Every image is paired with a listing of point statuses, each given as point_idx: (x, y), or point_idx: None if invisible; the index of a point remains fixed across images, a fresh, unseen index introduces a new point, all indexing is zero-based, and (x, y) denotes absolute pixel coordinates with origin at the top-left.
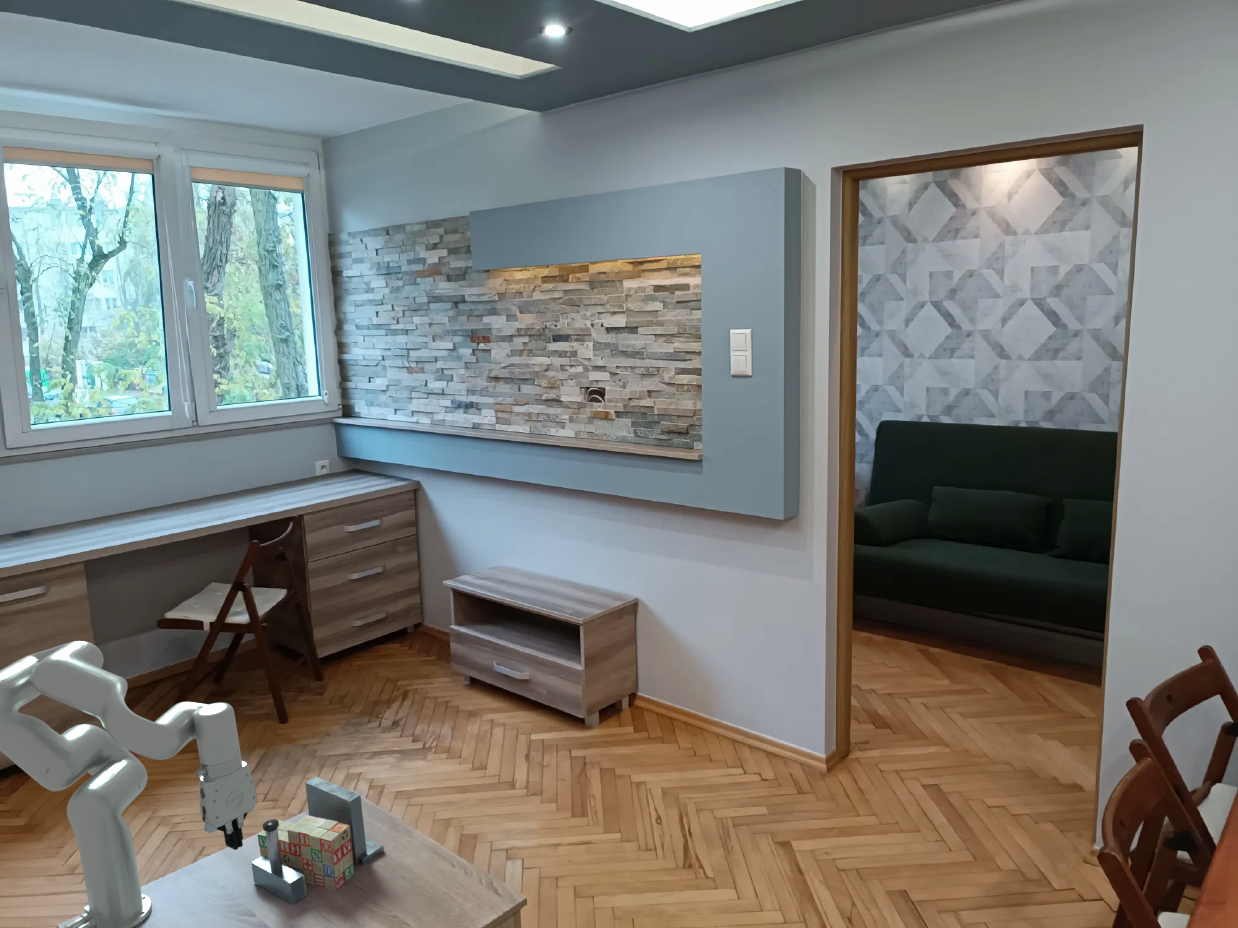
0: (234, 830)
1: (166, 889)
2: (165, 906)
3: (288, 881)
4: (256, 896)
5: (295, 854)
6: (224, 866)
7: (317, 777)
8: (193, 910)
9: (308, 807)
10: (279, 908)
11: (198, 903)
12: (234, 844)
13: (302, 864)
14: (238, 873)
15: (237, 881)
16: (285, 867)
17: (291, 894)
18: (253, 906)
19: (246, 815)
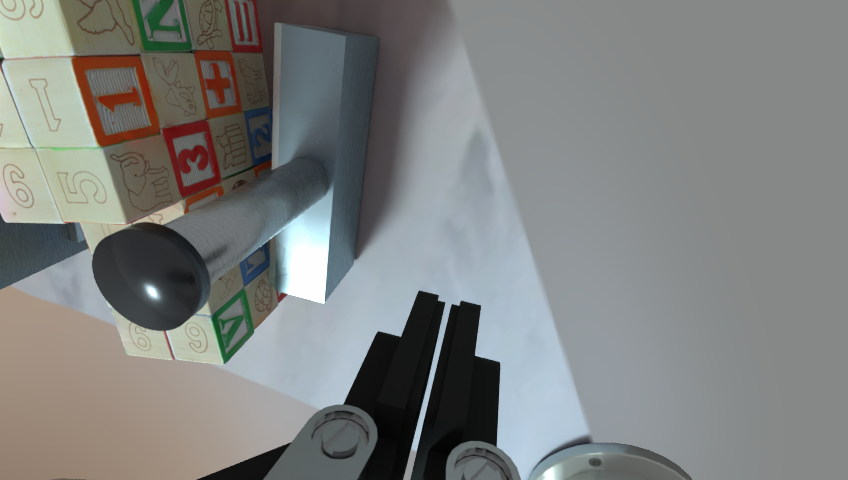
0: (411, 438)
1: None
2: (532, 426)
3: (341, 56)
4: (398, 209)
5: (212, 153)
6: (339, 391)
7: None
8: (522, 346)
9: (3, 285)
10: (414, 76)
11: (491, 354)
12: (476, 338)
13: (229, 113)
14: (342, 337)
15: (370, 316)
16: (282, 150)
17: (365, 38)
18: (440, 180)
19: (206, 476)
